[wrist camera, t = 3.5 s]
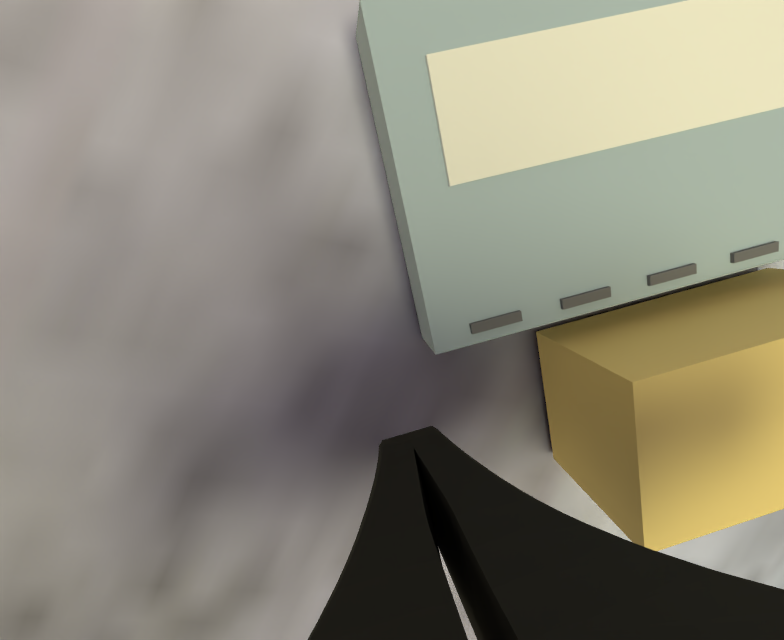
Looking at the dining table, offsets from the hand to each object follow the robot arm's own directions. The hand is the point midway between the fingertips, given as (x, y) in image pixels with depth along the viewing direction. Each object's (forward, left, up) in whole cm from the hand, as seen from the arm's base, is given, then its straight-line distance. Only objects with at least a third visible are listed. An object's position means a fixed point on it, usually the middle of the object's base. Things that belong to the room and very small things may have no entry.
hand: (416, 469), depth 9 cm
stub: (+8, 0, -2) cm, 8 cm away
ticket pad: (+8, +6, -2) cm, 10 cm away
